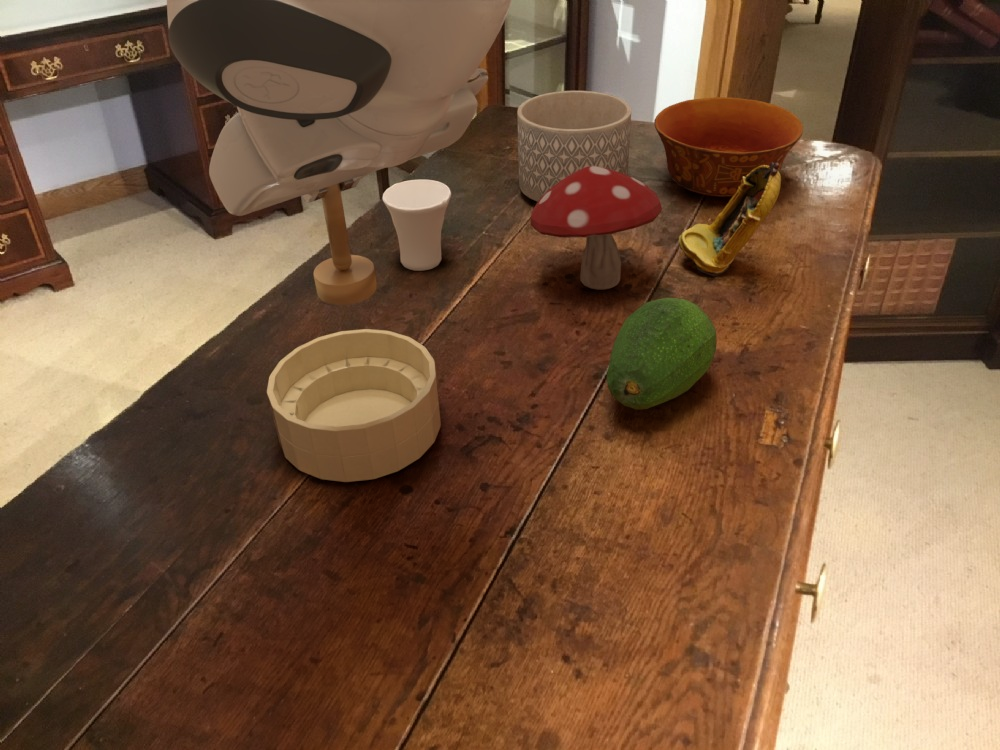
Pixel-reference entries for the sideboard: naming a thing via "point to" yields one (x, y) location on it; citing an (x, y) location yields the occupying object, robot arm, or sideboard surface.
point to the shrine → (733, 222)
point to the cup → (418, 220)
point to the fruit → (660, 352)
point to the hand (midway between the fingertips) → (326, 187)
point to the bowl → (724, 141)
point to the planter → (570, 137)
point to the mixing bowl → (355, 404)
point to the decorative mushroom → (596, 217)
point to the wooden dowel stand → (342, 260)
